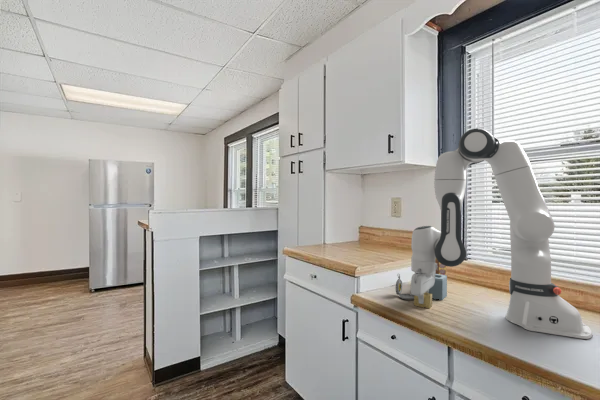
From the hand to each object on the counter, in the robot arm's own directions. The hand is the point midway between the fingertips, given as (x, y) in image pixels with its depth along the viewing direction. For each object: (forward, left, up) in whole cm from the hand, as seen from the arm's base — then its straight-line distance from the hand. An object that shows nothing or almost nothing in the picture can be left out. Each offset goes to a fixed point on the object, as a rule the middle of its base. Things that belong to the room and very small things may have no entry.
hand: (423, 301), depth 122 cm
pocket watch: (+9, -6, -2) cm, 11 cm away
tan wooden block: (0, 0, -2) cm, 2 cm away
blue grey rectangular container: (+1, -15, -2) cm, 16 cm away
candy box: (+2, -28, -2) cm, 28 cm away
